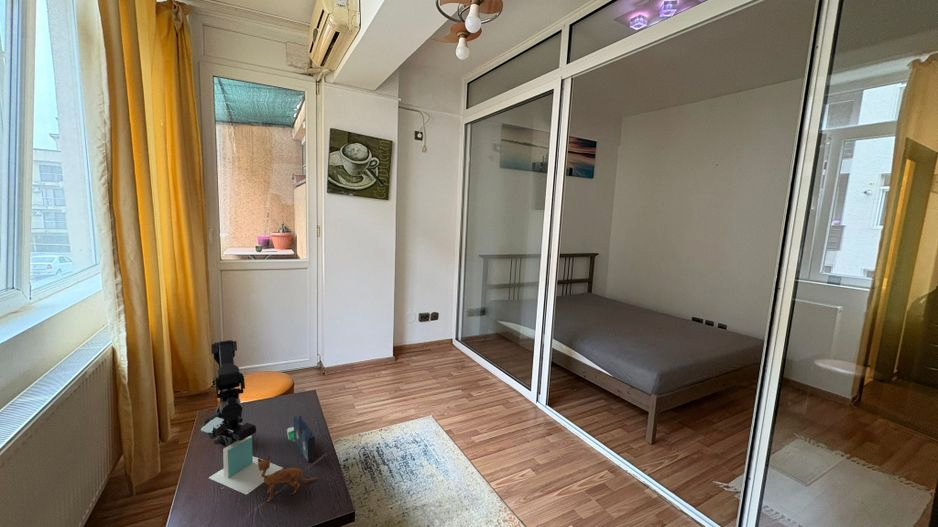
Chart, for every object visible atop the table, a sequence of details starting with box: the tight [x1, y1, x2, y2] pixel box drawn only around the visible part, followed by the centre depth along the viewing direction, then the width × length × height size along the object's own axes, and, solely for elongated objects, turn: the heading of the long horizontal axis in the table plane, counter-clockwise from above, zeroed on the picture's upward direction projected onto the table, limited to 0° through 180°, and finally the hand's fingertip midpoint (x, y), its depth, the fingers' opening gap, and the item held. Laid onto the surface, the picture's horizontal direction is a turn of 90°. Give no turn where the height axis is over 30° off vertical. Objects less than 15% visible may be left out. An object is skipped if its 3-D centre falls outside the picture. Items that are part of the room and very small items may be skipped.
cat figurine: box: [258, 455, 318, 504], centre depth 118 cm, size 18×7×14 cm, turn 128°
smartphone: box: [286, 426, 296, 443], centre depth 148 cm, size 7×1×15 cm
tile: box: [222, 435, 254, 478], centre depth 126 cm, size 2×9×10 cm, turn 159°
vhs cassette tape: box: [293, 414, 316, 463], centre depth 139 cm, size 18×3×10 cm, turn 39°
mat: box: [208, 455, 284, 496], centre depth 125 cm, size 18×14×1 cm
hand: (230, 449), depth 127 cm, fingers closed
